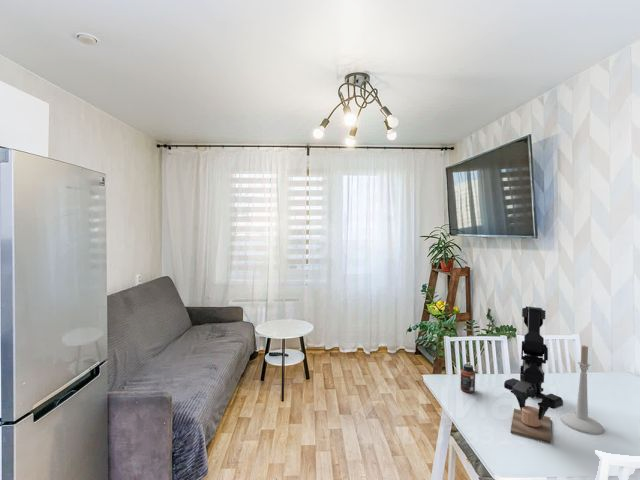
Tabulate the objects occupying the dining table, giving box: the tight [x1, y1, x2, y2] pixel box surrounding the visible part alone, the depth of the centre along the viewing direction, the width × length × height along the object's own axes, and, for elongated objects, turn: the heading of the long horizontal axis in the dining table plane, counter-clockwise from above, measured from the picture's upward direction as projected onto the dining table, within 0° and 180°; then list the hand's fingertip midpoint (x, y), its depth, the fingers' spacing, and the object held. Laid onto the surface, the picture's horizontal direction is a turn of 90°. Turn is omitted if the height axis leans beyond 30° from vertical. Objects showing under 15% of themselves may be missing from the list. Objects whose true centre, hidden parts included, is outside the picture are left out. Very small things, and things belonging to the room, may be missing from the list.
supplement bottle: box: [460, 363, 476, 394], centre depth 160 cm, size 6×6×11 cm
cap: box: [521, 405, 541, 427], centre depth 132 cm, size 6×6×4 cm
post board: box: [510, 408, 552, 444], centre depth 132 cm, size 18×12×6 cm, turn 148°
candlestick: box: [560, 344, 605, 435], centre depth 133 cm, size 13×13×30 cm
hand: (531, 415), depth 132 cm, fingers closed on cap, 6 cm apart
